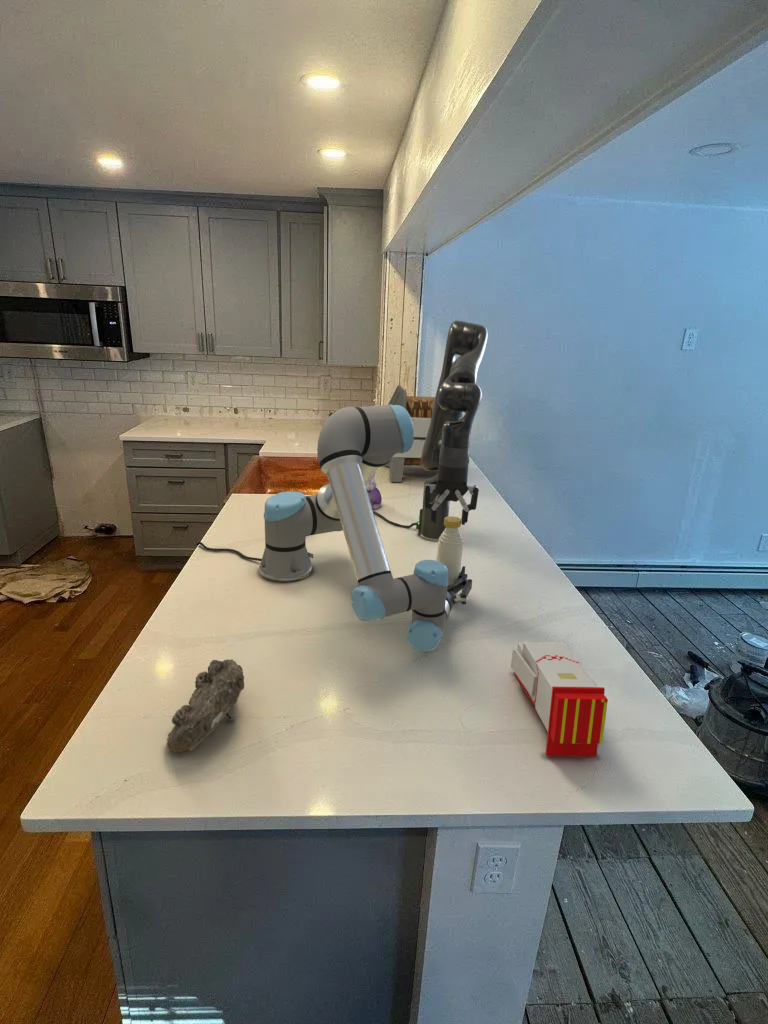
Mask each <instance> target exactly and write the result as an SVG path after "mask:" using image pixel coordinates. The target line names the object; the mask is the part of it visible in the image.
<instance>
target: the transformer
mask: <svg viewBox="0 0 768 1024" xmlns="http://www.w3.org/2000/svg"><path fill="white" fill-rule="evenodd" d="M407 394H408V393H407V390H406V389H404V388H403V387H402V385H399V384H398V385H397V386H396V388H395V390H394V392H393V394H392V395H391V398H390V400H389V402H388V404H390V405H399V406H402V407H404V408H405V409H406V410H407V412H408V413H409V415H410V417H411V420H412V423H413V429H414V440H413V445H412V447H411V449H410V450H409V451H407V452H404V453H402V454H401V453H397V454H395V455H394V456H393V457H392V459H391V460H390V461H389V463H388V464H386V465H385V466H384V467H388V468H389V475H388V476H389V477H388V478H389V480H390V482H391V483H402V482H403V475H404V469H405V466H406V467H407V466H411V467H412V466H413V467H415V466H416V467H417V466H418V467H422V465H421V453H422V449H423V445H424V442H425V439H426V436H427V433H428V429H429V426H430V422H431V417H432V412H433V406H434V401H435V396H415V395H414V396H413V395H412V396H411V395H407ZM388 404H387V405H388ZM461 418H463V413H462V414H461V417H460V418H459V419H461ZM439 443H442V438H441V439H440V441H439Z"/></svg>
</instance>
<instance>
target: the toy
mask: <svg viewBox="0 0 768 1024" xmlns="http://www.w3.org/2000/svg"><path fill="white" fill-rule="evenodd" d="M510 667H511V669H512V670H513V674H514V676H515V677H516V679H517V680H518V682H519V684H520V686H521V687H522V689H523V691H524V692H525V694H526V695H527V697H528V698H529V701H530V702H531V703H532V705H533V706H534V708H535V710H536V713H537V715H538V716H539V718H540V720H541V722H542V724H543V725H544V727H545V729H546V731H547V735H546V736H547V737H546V744H545V745H546V746H545V756H546V757H582V758H583V757H584V758H585V757H588V758H589V757H590V758H591V757H593V758H595V757H596V758H597V754H598V746H599V745H603V741H604V734H605V725H606V718H607V717H606V715H607V709H608V700H609V699H608V698H607V696H606V695H605V691H606V688H605V687H604V686H598V685H597V684H596V682H595V681H594V680H593V679H592V678H591V676H590V675H589V673H588V672H587V671H586V670H585V668H584V667H583V666H582V665H581V663H580V662H579V661H578V659H577V658H576V657H575V656H574V654H573V653H572V651H571V650H570V649H569V648H568V647H567V645H566V644H565V642H537V641H536V642H533V641H532V642H531V641H523V642H522V643H521V642H520V643H517V648H513V649H512V655H511V663H510Z"/></svg>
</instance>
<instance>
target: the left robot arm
mask: <svg viewBox="0 0 768 1024" xmlns="http://www.w3.org/2000/svg"><path fill="white" fill-rule="evenodd" d="M413 440H414V429H413V423H412V420H411V417H410V415H409V413H408V412H407V410H406V409H405V408H404V407H402V406H399V405H390V404H381V405H368V406H367V405H365V406H346V407H343V408H339V409H338V410H336V411H334V412H333V413H332V414H330V416H328V417H327V419H326V420H325V422H324V423H323V425H322V427H321V429H320V432H319V435H318V440H317V448H316V452H317V460H318V465H319V467H320V472H321V473H322V474H324V475H326V477H327V480H328V483H326V484H324V485H323V486H321V487H320V488H319V489H318V491H317V493H316V494H312V495H305V494H304V493H303V492H301V491H297V490H295V491H294V490H293V491H290V490H289V491H282V492H277V493H275V494H273V495H271V496H270V497H268V498H267V499H266V501H265V502H264V510H263V511H264V512H263V519H264V520H263V521H264V543H265V545H264V546H265V547H264V551H263V554H262V556H261V558H258V557H253V556H247V555H246V554H245V555H244V553H242V552H240V551H238V550H236V549H233V548H213V547H208V546H207V545H205V544H204V543H203V542H202V541H198V542H196V543H195V546H199V545H200V547H202V548H203V549H205V550H208V551H212V552H232V553H236V554H237V555H238V556H240V557H241V558H243V559H245V560H249V561H257V562H259V575H260V576H261V577H263V578H264V579H265V580H269V581H272V582H277V583H290V582H296V581H300V580H303V579H305V578H307V577H309V576H310V575H311V574H312V571H313V564H312V560H311V558H312V559H314V553H311V552H309V551H308V549H307V546H306V545H307V543H306V540H307V537H310V536H314V535H321V534H326V533H328V534H329V533H332V532H343V535H344V538H345V542H346V545H347V549H348V553H349V557H350V559H351V563H352V566H353V570H354V573H355V576H356V580H357V584H358V586H357V587H354V588H353V589H352V592H351V596H350V599H351V608H352V611H353V613H354V615H355V616H356V617H357V619H359V621H361V622H371V621H372V622H373V621H376V620H383V619H385V618H389V617H392V616H395V615H399V614H402V613H406V612H411V617H410V618H411V619H410V623H409V624H408V627H407V632H406V638H407V639H406V640H407V641H408V643H409V645H410V646H411V647H412V648H413V649H415V650H416V651H419V652H425V653H427V652H431V651H433V650H435V649H436V648H437V647H438V646H439V644H440V642H441V641H442V639H443V634H444V630H445V627H446V624H447V622H448V619H449V617H450V613H451V611H452V608H453V604H455V603H456V602H460V604H462V605H466V604H467V598H468V596H469V595H470V592H471V591H472V589H473V579H471V578H469V579H468V573H466V566H464V565H462V566H461V570H460V575H459V580H458V581H456V582H455V583H454V584H452V585H449V586H448V569H447V567H446V566H445V565H444V564H442V563H441V562H439V561H436V559H435V560H434V559H422V560H420V561H418V562H416V564H415V565H414V568H413V574H408V575H404V576H400V577H395V578H394V576H393V574H392V570H391V567H390V563H389V561H388V557H387V554H386V550H385V547H384V544H383V541H382V537H381V533H380V530H379V527H378V524H377V520H376V517H375V514H374V513H373V511H374V509H372V506H371V503H370V500H369V496H368V493H367V490H366V486H365V485H366V484H367V482H368V481H369V479H370V478H371V477H372V475H373V474H374V472H375V473H376V471H377V470H378V469H379V468H382V467H386V466H385V465H386V464H388V463H389V461H390V460H391V459H392V457H393V456H394V455H395V454H397V453H401V454H402V453H404V452H407V451H409V450H410V449H411V447H412V445H413ZM456 593H458V596H456V595H455V594H456Z"/></svg>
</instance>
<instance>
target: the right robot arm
mask: <svg viewBox="0 0 768 1024" xmlns="http://www.w3.org/2000/svg"><path fill="white" fill-rule="evenodd" d="M488 334H489V333H488V329H487V327H485V326H484V325H482V324H478V323H473V322H468V321H463V320H454V321H452V322H451V324H450V326H449V328H448V333H447V336H446V337H447V338H446V343H445V348H444V349H445V350H444V355H443V361H442V367H441V373H440V378H439V381H438V385H437V388H436V393H435V396H434V397H435V401H434V406H433V412H432V417H431V422H430V426H429V429H428V433H427V436H426V439H425V442H424V445H423V449H422V453H421V465H422V466H421V467H422V469H423V470H424V471H428V472H437V473H436V474H435V475H433V476H431V477H428V478H427V479H425V480H424V482H423V493H422V496H423V497H422V506H421V508H420V509H419V516H418V521H416V522H412V523H411V524H409V525H404V524H400V523H397V522H394V521H391V520H389V519H388V518H386V517H385V516H384V515H382V514H381V513H379V512H377V511H375V510H373V513H374V515H376V516H378V517H379V518H381V519H382V520H383V521H385V522H386V523H387V524H390V525H393V526H395V527H399V528H405V529H411V528H412V527H414V526H415V530H417V535H418V536H420V538H421V539H424V540H426V541H432V542H438V540H439V537H440V536H441V534H442V533H443V531H444V529H445V528H446V527H445V526H444V518H445V517H448V516H450V515H449V514H450V504H451V502H456V503H457V502H459V503H460V505H461V507H462V510H461V518H460V519H461V526H465V525H466V524H467V523H468V519H469V512H470V511H475V510H476V509H477V505H478V497H479V491H480V490H479V487H478V485H475V484H474V485H468V475H469V465H470V443H471V433H472V427H473V424H474V420H475V417H476V414H477V412H478V410H479V407H480V405H481V402H482V398H483V392H482V389H481V387H480V386H479V384H477V378H478V370H479V367H480V364H481V362H482V360H483V356H484V354H485V350H486V347H487V346H486V345H487V342H488ZM456 356H458V357H457V358H456ZM463 413H465V414H464V415H463ZM461 414H462V415H463V416H462V417H461ZM460 417H461V419H459V418H460ZM441 438H442V443H439V441H440V439H441ZM467 492H469V494H470V503H468V504H467V502H466V500H465V498H464V496H465V495H466V493H467Z"/></svg>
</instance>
